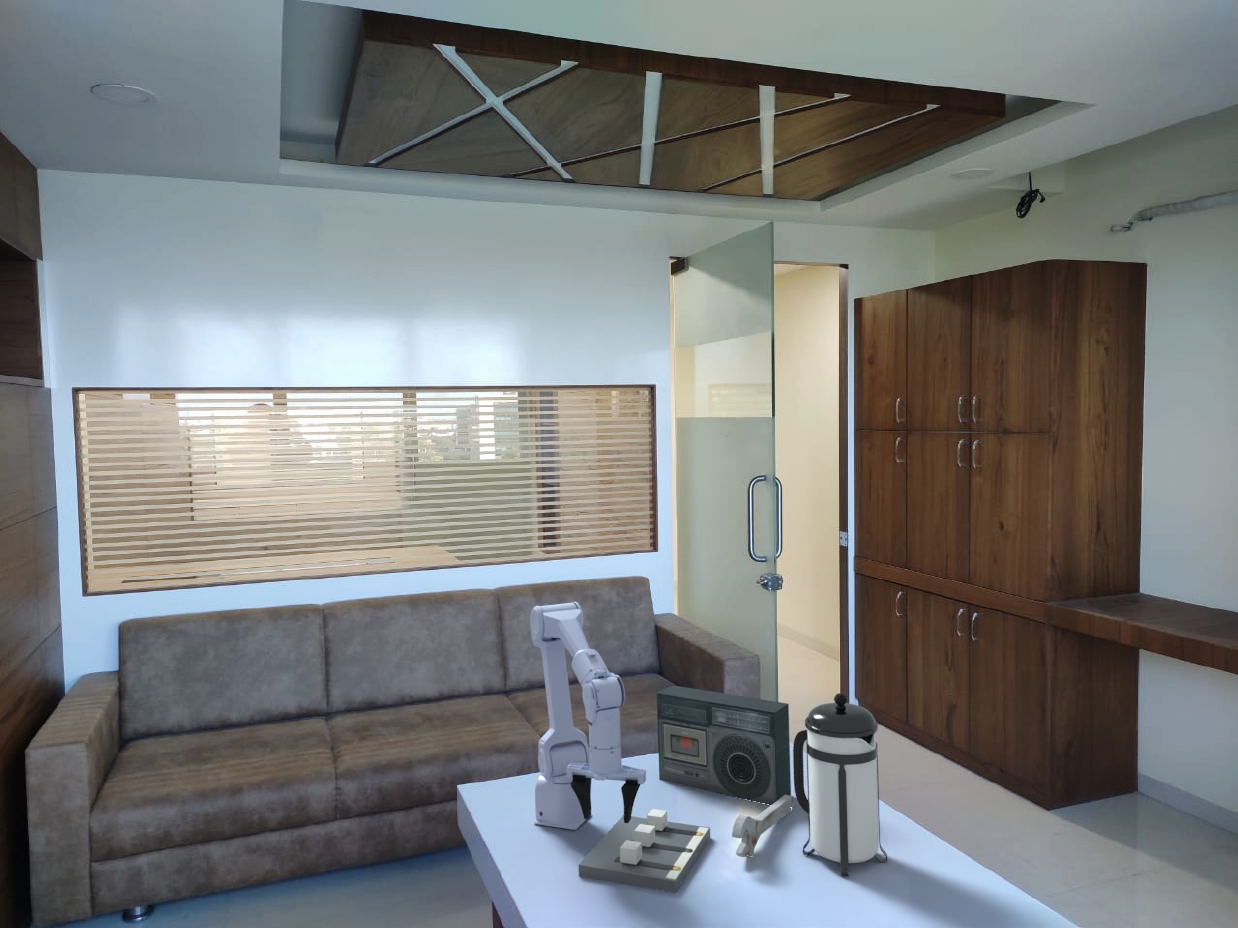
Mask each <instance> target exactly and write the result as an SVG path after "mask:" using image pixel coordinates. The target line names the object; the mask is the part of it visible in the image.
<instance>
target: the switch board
mask: <svg viewBox="0 0 1238 928" xmlns="http://www.w3.org/2000/svg"><path fill="white" fill-rule="evenodd" d="M639 824H644V825H647V817H645V818H644V817H637V816H632V815H631V820H630V821H629V823H624V814H623V815H622V816H621V818H619V820H617V822H616V823H615V824H614V825H613V826H612V827H611V829H609V831H608V832H607V833H606V834H605V835H604V836H603V837H602V838H601V840H600V841H599V842H598V843H596V845H595V846H594V847H593V848H592V850H590V851H589V853H588V854H587V855H586V856H585V857H584V859H582V860H581V862H579V864H578V877H583V878H588V879H593V880H594V879H595V880H599V881H606V882H610V883H616V884H623V885H629V886H634V887H638V888H639V887H640V888H644V889H645V888H646V889H650V888H651V890H656V889H657V890H656V891H662V890H664V891H663V892H668V891H669V892H668V893H673V892H674V893H675V894H676V892H677V891H678V890H679V889H680V887H681V885H682V884H683V882H684V880H685V879H686V878H687V875H688V874H689V873H690V871H691V869H692V868H693V866H694V865H695V863H696V862H697V860H698V858H699V857H700V855H701V853H702V852H703V850H704V849H705V848H706V845H707V844H708V843H709V841H710V839H711V828H710V827H709V826H700V825H694V824H687V823H679V822H673V821H667V825H666V827H665V828H664V829H663V831H660V830H655V841H654V842H653V844H652V845H651V846H650V847H646V846H642V858H641V859H640V861H639V862H638V863H637V864H636V865H635V864H629V863H623V862H620V847H621V846H622V845H623V843H624V842H625V841H626V840H628V841H634V830H635V829H636V828H637V827H638V825H639ZM679 886H680V887H679Z"/></svg>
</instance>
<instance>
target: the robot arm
mask: <svg viewBox="0 0 1238 928" xmlns="http://www.w3.org/2000/svg"><path fill="white" fill-rule="evenodd" d="M529 622H530V623H529V624H530V631H531V632H530V633H531V640H532V645H533V646H534V647H535V648H539V649H540V654H541V658H542V669H543V676H544V687H545V694H546V695H545V697H546V703H547V704H546V705H547V711H548V712H547V713H548V722H549V729H548V730H547V731H546V732H545V734H543V736H542V737H541V738H540V739H539V741H538V745H537V746H538V754H537V764H538V765H537V766H538V770H539V772H540V775H539V776H538V779H537V780H536V784H535V789H534V799H535V800H534V804H535V806H534V807H535V820H534V822H533V823H534V824H535V825H539V826H546V827H551V828H552V827H553V828H559V829H567V830H573V831H576V830H578V829H579V828H580V827H581V825H583V824H584V823H585V821H587V820H588V819H589V818H590V816H592V802H591V801H592V800H591V799H592V798H591V793H592V780H593V779H594V780H595V781H606V780H609V781H621V782H625V783H623V784H622V786H621V787H620V788H621V789H620V790H621V795H622V800H623V801H622V802H623V815H624V823H629V821H630V820H631V816H632V813H633V808H634V803H635V799H636V797H637V794H638V791H639V788H640V787H641V785H644V783H646V781H647V770H646V769H641V768H636V767H632V766H630V765H625V764H624V765H623V764H622V742H621V741H622V738H621V737H622V736H621V708H623V707H624V705H625V702H626V691H625V687H624V682H623V681H622V678H621V676H620V675H618V674H615V673H614V672H611V671H609V668H608V667H607V666H606V664H605V662H604V660H603V657H601V655H600V653H599V652H598V650H596V649H593V648H590V645H589V643H588V640H587V639H586V638H587V637H586V636H585V634H584V631H583V627H584V612H583V609H582V606H581V605H580V604H579V603H578V602H577V601H572V602H567V603H559V604H558V603H557V604H550V605H541V606H540V605H535V606H534V607H533V608H532V610H531V613H530V617H529ZM566 650H567V651H568V652H569V654H570V656H571V657H572V661H571V669H572V671H573V672H574V675H575V676H576V678H577V681H578V683H579V684H580V685H581V688H582V692H581V693H582V695H581V696H582V702H583V705H584V709H585V711H584V712H585V719H586V720H587V721H588V738H589V739H587V736H586V734H585V732H583V731H582V730H580V729H578V728H576V727H575V726H574V718H573V711H572V702H571V693H570V685H569V678H568V677H569V675H568V668H567V659H566V652H565V651H566ZM588 740H589V742H588Z"/></svg>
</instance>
